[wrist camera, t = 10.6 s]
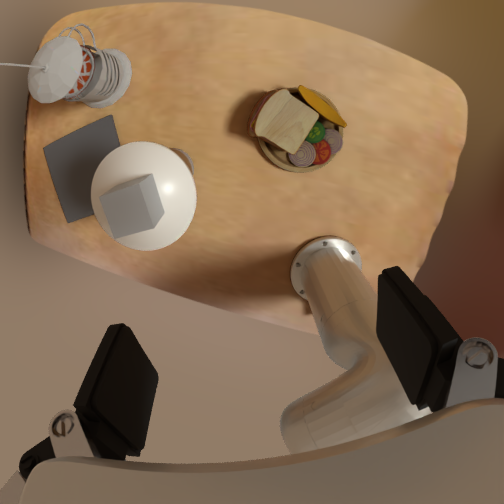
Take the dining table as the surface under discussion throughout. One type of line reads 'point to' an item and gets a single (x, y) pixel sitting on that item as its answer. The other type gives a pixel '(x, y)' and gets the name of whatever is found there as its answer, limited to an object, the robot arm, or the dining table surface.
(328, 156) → the toy sandwich meal
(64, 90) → the french press
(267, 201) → the dining table surface
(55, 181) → the mat
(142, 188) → the lid
